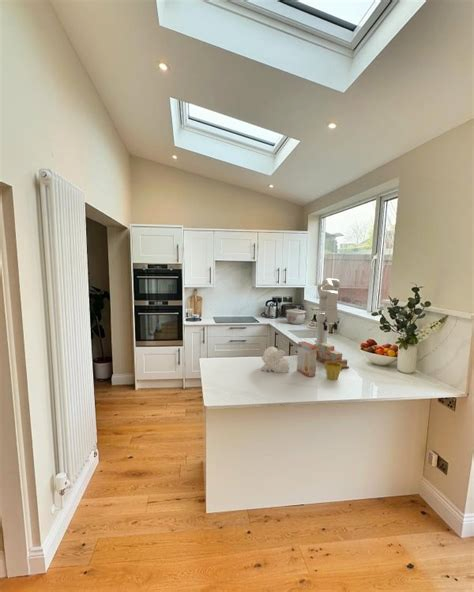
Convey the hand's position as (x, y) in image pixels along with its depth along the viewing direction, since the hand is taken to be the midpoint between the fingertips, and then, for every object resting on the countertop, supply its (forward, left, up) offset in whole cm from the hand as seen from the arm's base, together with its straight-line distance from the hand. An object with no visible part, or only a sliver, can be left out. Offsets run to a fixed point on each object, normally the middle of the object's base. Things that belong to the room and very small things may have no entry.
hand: (330, 330), depth 225 cm
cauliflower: (0, -49, -26) cm, 56 cm away
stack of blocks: (+1, 0, -25) cm, 25 cm away
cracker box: (+13, -31, -26) cm, 43 cm away
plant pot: (+27, -20, -26) cm, 43 cm away
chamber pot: (-148, +72, -26) cm, 166 cm away
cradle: (0, 0, -26) cm, 26 cm away
